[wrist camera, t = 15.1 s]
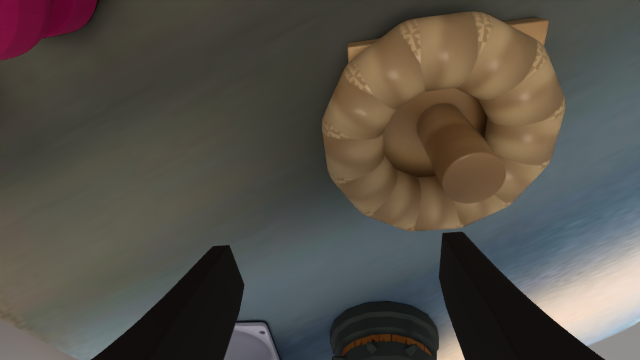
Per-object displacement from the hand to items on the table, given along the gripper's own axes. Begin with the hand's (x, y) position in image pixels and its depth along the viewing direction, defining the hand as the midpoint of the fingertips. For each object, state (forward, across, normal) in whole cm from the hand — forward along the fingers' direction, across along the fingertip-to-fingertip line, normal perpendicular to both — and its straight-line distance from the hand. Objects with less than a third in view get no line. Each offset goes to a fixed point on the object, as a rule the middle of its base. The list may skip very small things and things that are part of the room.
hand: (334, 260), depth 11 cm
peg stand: (+10, -6, -1) cm, 11 cm away
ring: (+7, -5, -1) cm, 9 cm away
